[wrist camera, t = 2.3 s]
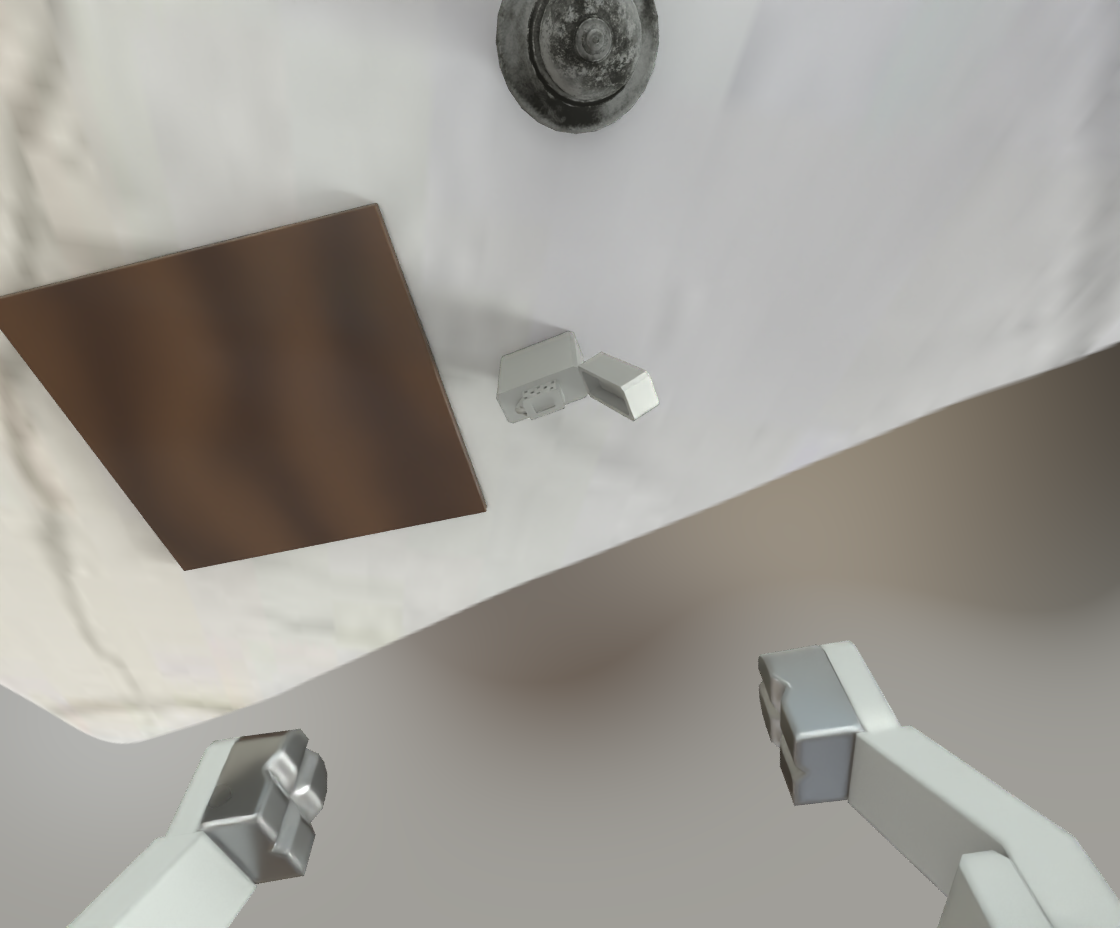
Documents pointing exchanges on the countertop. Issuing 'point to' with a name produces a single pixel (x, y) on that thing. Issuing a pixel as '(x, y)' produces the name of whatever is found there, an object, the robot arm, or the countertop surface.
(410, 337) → the walnut board
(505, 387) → the lighter
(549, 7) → the tarnished pewter finial
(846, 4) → the countertop surface
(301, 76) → the countertop surface
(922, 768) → the robot arm
